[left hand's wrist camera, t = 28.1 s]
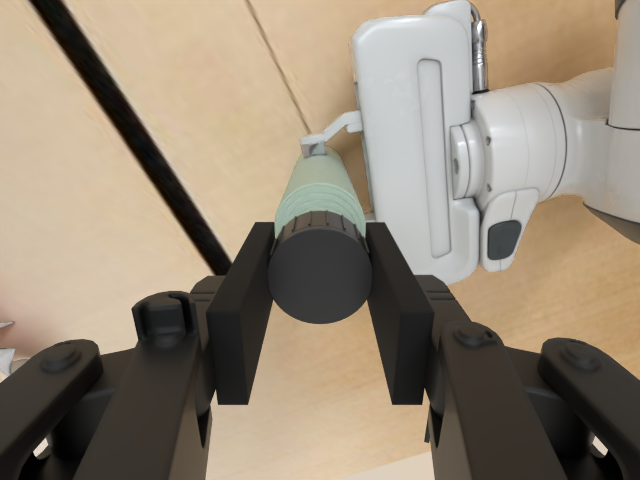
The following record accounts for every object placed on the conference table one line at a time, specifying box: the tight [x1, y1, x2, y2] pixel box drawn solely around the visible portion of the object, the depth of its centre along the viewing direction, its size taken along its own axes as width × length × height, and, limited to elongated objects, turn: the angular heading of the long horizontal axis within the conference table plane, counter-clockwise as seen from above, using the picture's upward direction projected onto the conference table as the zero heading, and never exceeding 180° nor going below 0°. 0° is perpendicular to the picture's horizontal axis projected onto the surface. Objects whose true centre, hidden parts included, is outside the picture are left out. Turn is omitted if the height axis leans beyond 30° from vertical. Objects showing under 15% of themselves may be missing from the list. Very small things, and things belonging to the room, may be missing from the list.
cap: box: [268, 210, 373, 324], centre depth 13 cm, size 4×4×2 cm
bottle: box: [275, 146, 366, 238], centre depth 23 cm, size 4×4×21 cm
